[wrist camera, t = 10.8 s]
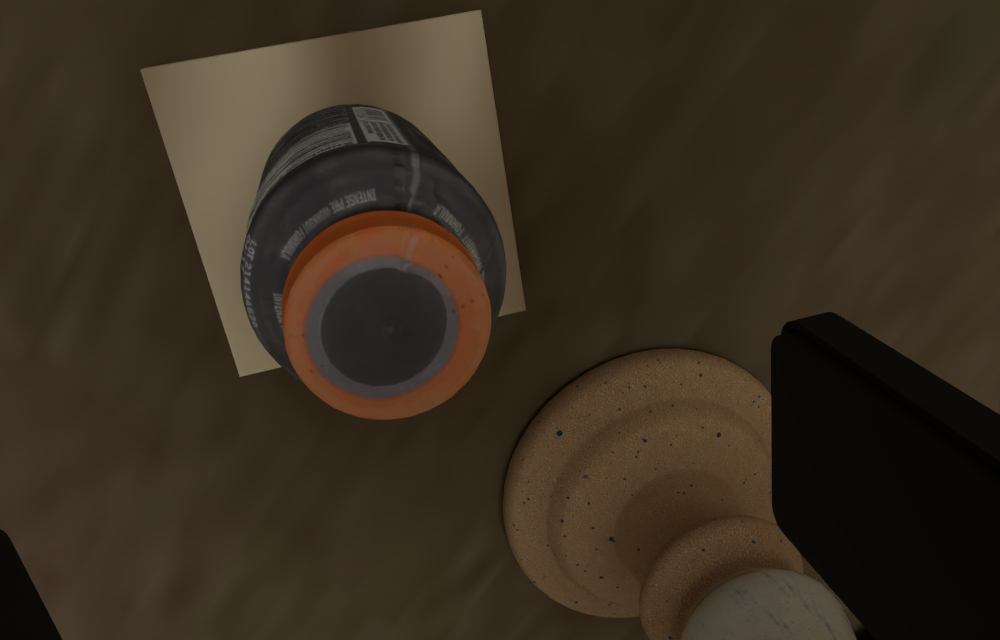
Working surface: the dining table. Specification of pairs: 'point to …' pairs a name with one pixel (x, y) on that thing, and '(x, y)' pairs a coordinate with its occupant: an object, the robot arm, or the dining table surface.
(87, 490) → the dining table surface
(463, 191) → the pill bottle
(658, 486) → the candle holder
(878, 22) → the dining table surface
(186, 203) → the coaster
